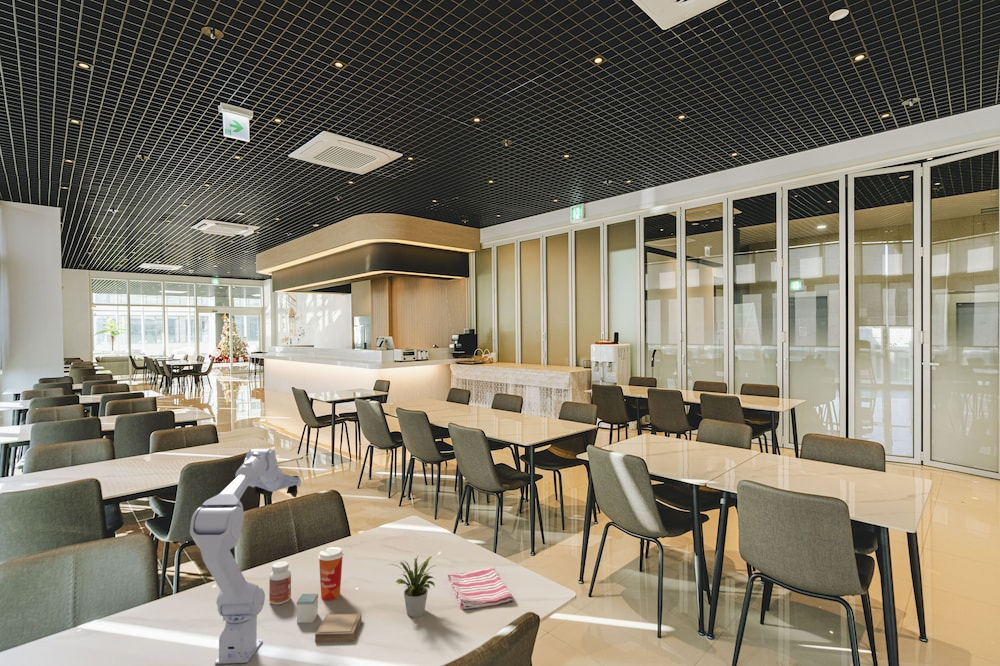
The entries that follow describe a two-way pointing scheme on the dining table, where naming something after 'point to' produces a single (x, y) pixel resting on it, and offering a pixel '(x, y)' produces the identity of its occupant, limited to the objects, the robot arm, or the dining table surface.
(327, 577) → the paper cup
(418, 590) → the house plant
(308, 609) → the cube
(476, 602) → the dish towel
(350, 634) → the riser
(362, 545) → the dining table surface
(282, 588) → the pill bottle
